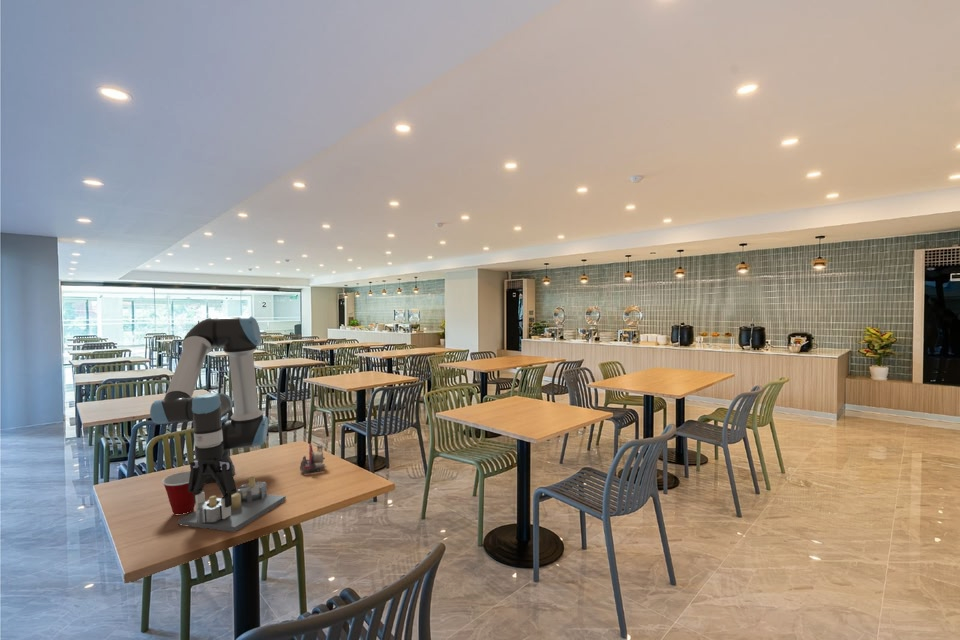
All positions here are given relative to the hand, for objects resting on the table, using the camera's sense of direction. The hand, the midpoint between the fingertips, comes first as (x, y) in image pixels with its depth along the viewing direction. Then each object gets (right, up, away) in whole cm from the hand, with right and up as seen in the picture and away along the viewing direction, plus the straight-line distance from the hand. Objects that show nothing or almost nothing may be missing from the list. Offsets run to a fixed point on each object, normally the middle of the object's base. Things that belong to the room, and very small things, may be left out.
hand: (213, 515), depth 140 cm
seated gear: (+4, 0, +15) cm, 16 cm away
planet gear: (0, 0, 0) cm, 0 cm away
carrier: (+2, -2, +8) cm, 8 cm away
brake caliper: (+15, -1, +44) cm, 47 cm away
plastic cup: (-16, -3, +10) cm, 19 cm away
